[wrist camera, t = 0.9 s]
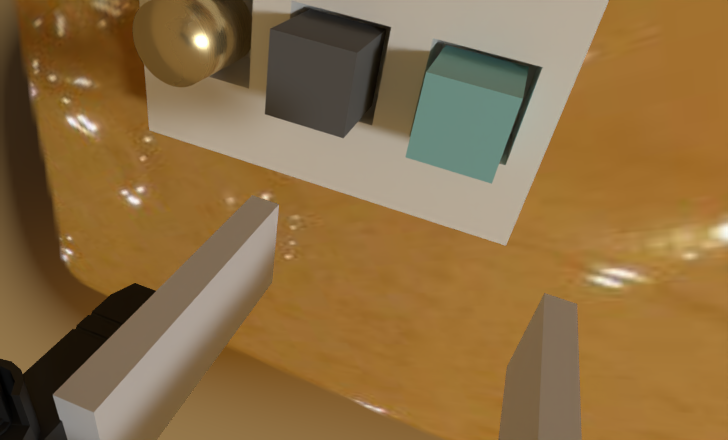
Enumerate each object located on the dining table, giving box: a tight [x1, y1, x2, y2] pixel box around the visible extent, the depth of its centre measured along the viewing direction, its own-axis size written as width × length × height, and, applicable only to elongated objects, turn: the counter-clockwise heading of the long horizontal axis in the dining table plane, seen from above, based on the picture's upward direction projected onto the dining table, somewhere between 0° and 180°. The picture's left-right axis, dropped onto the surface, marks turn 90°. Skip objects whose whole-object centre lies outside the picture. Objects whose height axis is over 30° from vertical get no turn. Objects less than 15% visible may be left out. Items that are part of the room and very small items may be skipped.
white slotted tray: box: [139, 0, 609, 246], centre depth 28 cm, size 14×22×5 cm, turn 80°
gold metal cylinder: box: [132, 0, 252, 87], centre depth 26 cm, size 4×4×4 cm
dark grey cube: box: [265, 9, 386, 138], centre depth 25 cm, size 4×4×4 cm
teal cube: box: [406, 45, 529, 184], centre depth 24 cm, size 4×4×4 cm
